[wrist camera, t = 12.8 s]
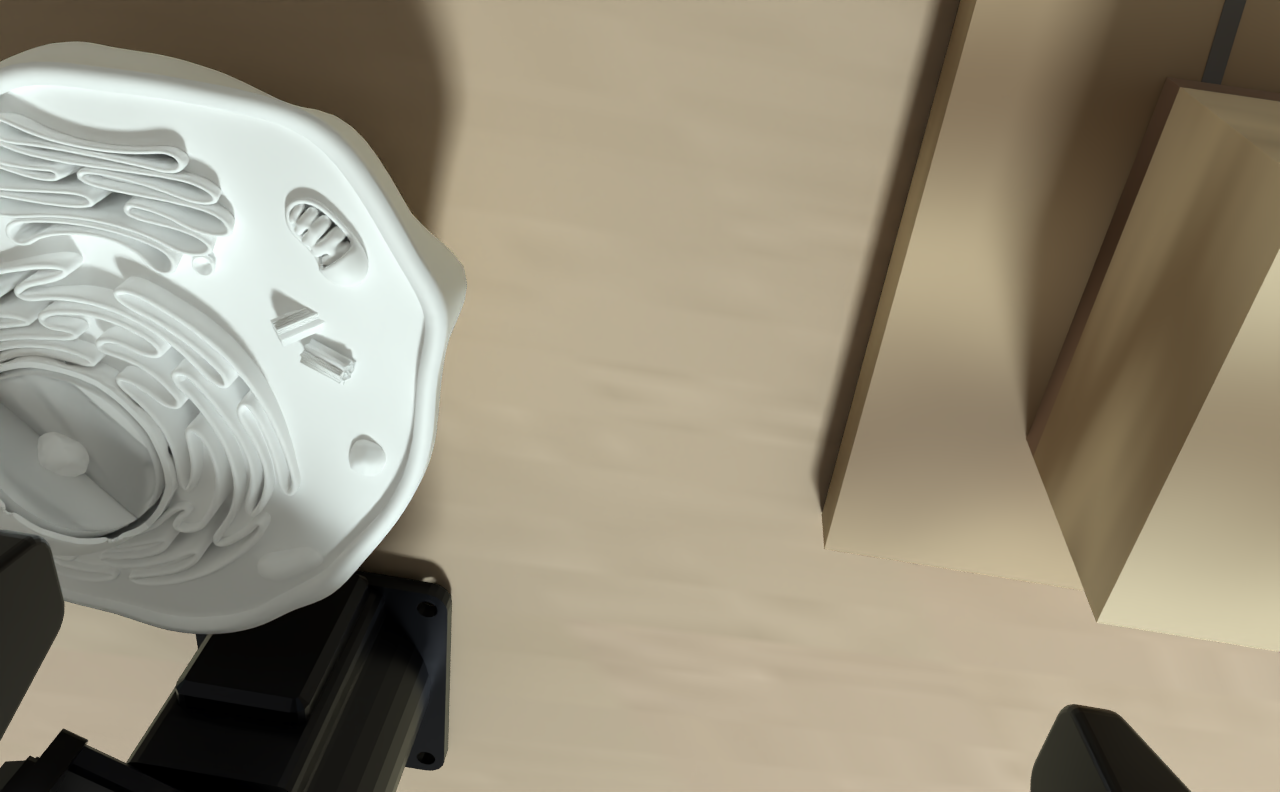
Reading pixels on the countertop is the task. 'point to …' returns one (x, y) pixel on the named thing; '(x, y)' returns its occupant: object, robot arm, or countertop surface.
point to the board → (1010, 266)
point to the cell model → (205, 338)
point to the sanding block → (1178, 382)
